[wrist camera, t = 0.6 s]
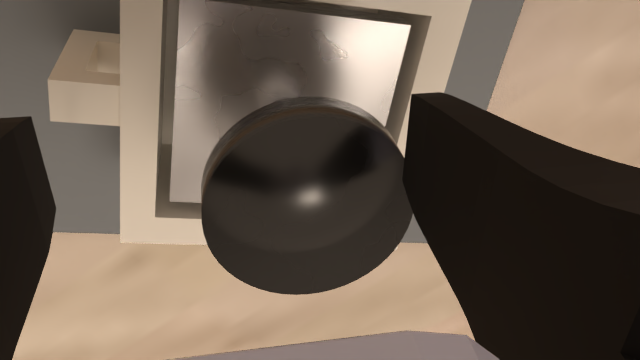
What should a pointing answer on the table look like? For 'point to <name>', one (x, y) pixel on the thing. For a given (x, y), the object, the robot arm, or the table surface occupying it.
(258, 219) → the plunger
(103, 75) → the press body
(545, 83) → the table surface
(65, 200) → the slate mat
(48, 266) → the table surface
